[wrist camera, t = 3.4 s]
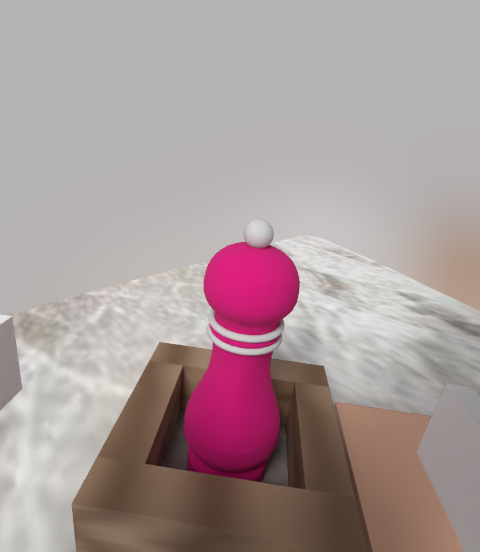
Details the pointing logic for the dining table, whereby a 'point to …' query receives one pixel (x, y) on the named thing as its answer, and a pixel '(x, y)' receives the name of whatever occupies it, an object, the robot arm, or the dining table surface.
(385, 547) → the terracotta tile
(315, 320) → the dining table surface
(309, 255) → the dining table surface
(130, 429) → the walnut holder
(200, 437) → the pepper mill
